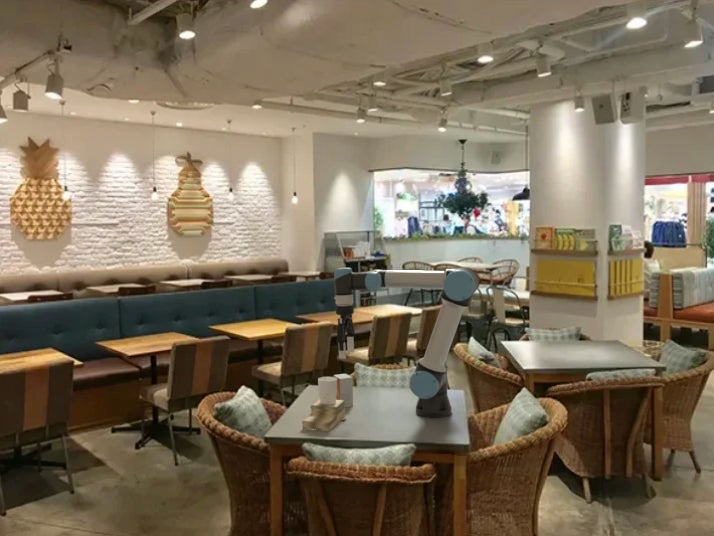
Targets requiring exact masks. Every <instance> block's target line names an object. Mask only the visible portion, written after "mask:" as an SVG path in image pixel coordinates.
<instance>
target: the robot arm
mask: <svg viewBox="0 0 714 536" xmlns="http://www.w3.org/2000/svg"><path fill="white" fill-rule="evenodd" d="M352 269H353V268H351V267H339V268H338V267H337V268H335V269H334V272H333V274H334V275H333V276H334V277H333V281H334V298H333V299H334V300H335V314H336V315H337V316H339V317H340V318H337V330H336V331H337V332H336V340H335V342H336V344H337V345H338V359H343V360H344V359H345V360H346V358H347V353H354V352H355V342H354V339H355V338H354V337H356V333H355V332H356V331H355V326H354V322H353V314H354V313H355V309H354V308H355V307H354V305H353V304H354V291H355V292H356V291H371V292H372V291H379V290H380V289H382V288H383V289H384V288H388V289H389V288H393V289H394V288H395V289H396V288H397V289H419V290H421V289H424V290H425V289H426V290H442V292H441V294H440V299H441V301H442V304H441V307H440V310H439V312H438V315H437V319H436V321H435V324H434V328H433V329H432V333H431V335H430V338H429V342H428V344H427V347H426V350H425V353H424V356H423V357H421V358H419V359H418V361H417V363H416V367H415V368H414V369H415V370H414V372H413V374H411V376H410V378H409V389H410V390H411V393H413V395H415V396H416V397H417V398H418V399H417V402H416V406H415V413H416V415H419V416H421V417H426V418H442V417H443V418H444V417H447V416H450V415H452V408H453V407H452V405H451V403H450V399H449V395H448V361H447V357H448V354H449V351H450V349H451V346H452V343H453V340H454V338H455V334H456V332H457V329H458V326H459V324H460V320H461V318H462V316H463V313H464V310H466V309H468V308H469V307H470V305H471V302H472V299H473V297H474V293H476V292H477V290H478V289H479V287H480V286H479V285H480V278H479V276H478V274H477V272H476V271H475V270H474V269H472V268H470V267H459V268H458V267H457V268H447V269H445V270H405V269H404V270H401V269H400V270H396V269H390V270H389V269H377V268H375V269H372V270H368V271H362V272H353V270H352ZM346 334H347V336H346ZM345 340H347V341H346V342H345ZM346 344H347V347H346ZM346 349H347V353H346Z"/></svg>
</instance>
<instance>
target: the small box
mask: <svg viewBox="0 0 714 536" xmlns="http://www.w3.org/2000/svg"><path fill="white" fill-rule="evenodd" d="M332 377H335V378H337V395H336V400H344V401H345V404H344V408H347V407H353V406H354V392H353V391H354V390H353V389H354V388H353V387H354V386H353V385H354V384H353V383H354V381H353V376H351V375H349V374H348V373H340V374H333V376H332Z"/></svg>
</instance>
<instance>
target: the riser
mask: <svg viewBox="0 0 714 536" xmlns="http://www.w3.org/2000/svg"><path fill="white" fill-rule="evenodd" d="M344 404H345V401H344V400H336V403H335V404H331V405H324V404H320V398H318V399H317V400H316V401H315V402H313V403H312V404H311V405H310V411H311V413H310V414H309V415H308V416H306V417H305V418H304V419H302V420H301V422H302V426H301V427H302V428H303V429H314V430H313V431H315V429H316V430H324V431H323V432H327V431H329V430H330V431H331V430H332V429H334V427H336V425H338V423H340V422H346V421H347V418H346V415H345V407H344ZM303 429H302V430H303ZM330 431H329V432H330Z"/></svg>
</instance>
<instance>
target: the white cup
mask: <svg viewBox="0 0 714 536" xmlns="http://www.w3.org/2000/svg"><path fill="white" fill-rule="evenodd" d="M317 384H318V385H317V386H318V387H317V389H318V399H320V404H324V405H331V404H335V403H336V395H337V378H335V377H333V376H321V377H318V378H317Z"/></svg>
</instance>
